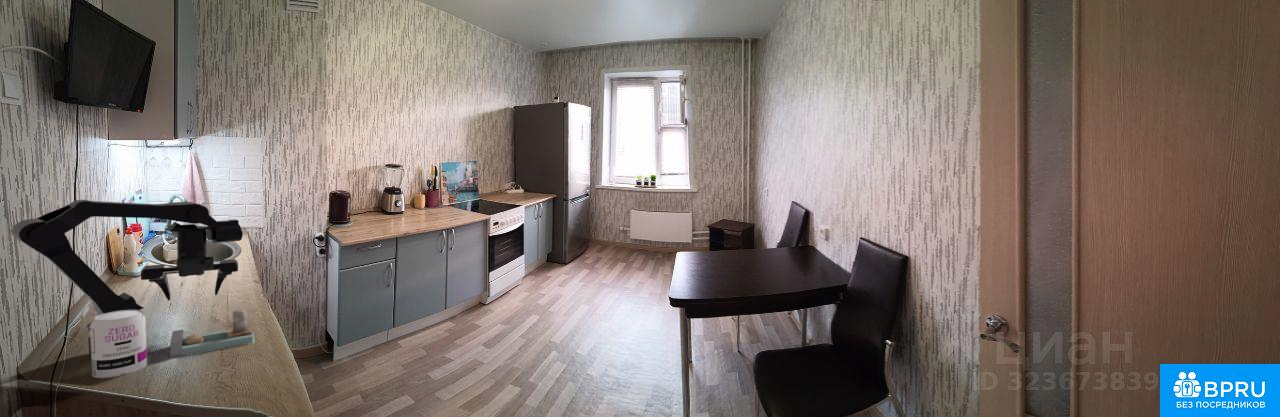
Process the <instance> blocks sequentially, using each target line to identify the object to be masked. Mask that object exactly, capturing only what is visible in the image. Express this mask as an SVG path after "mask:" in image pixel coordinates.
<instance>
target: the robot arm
mask: <svg viewBox="0 0 1280 417" xmlns="http://www.w3.org/2000/svg"><path fill="white" fill-rule="evenodd" d="M94 217H97V218H98V217H99V218H100V217H101V218H129V219H130V218H133V219H135V218H136V219H160V220H168V221H175V222H173V223H171V225H169V226H167V227H166V228H165V231H167V232H170V233H176V245H177V246H176V249H177V251H176V254H177V257H176V258H177V260H176V266H170V267H166V266H165V264H152V265H151V264H150V265H144V266H143V267H142V269H141V271H140V280H141V281H146V280H148V282H149V283H155V284H156V285H157V286H158V287H159V288H160V289H161V290H162V292H163V294H164V296H165V298H166V299H167V301H171V289H170V285H169V280H168V275H173V274H178V276H179V277H182V278H185V277H188V276H189V277H191V276H202V275H204V274H205V272H207V271H217V276H216V281H215V285H214V286H215V287H214V295H215V296H217V295H218V293H219V291H220V288H221V286H222V284H223V282H224V280H225V279H226V277H227V276H230V275H233V273H237V272H239V262H238V261H239V260H237V259H235V258H234V259H232V258H231V259H222V260H219V263H215V262H214V257H215V256H207V255H208V253H207V247H208V246H207V240H208V241H211V242H212V243H213V244H221V243H234V242H240V241H242V240H243V236H244V235H243V233H244V232H243V230H242V228H241V225H240V223H239V220H237V219H234V218H233V219H228V220H216V219H214V218H213V217H212V215H210V211H209V208H208V207H206V206H205V205H204V204H202V203H201V204H200V203H196V202H193V201H177V202H176V201H175V202H166V203H138V202H137V203H135V202H119V201H118V202H117V201H116V202H115V201H96V200H95V201H94V200H88V199H77V200H74V201H72V202H70V203H69V204H66V205H65V206H62V207H60V208H57V209H55V210H52V211H49V212H46V213H45V214H43V215H40V216H39V217H37V218H28V219H23V220H21V221H18V222H17V223H16V224H15V225H14V226H13V228H12V229H11V235H12V236H13V237H14V238H15V239H17V240H19V241H20V242H21V243H23V244H25V245H26V246H28V247H30V248H31V249H32V250H34V251H36V252H37V253H39V254H40V255H42V256H44V257H45V258H47V259H48V260H49V261H50V262H51V263H52V264H53V265H54V266H55V267H56V268H57V269H58V270H59V271H60V272H61V273H62V274H64V275H65V276H66V278H68V279H69V280H70V281H71V282H72V283H73V284H74V285H75V286H76V287H77V288H78V289H79V290H80V291H81V292H82V293H83V294H84V295H85V296H86V297H88V299H90V301H91V302H92V304H93V307H94V309H95V311H96V313H97V314H98V315H101V314H105V313H109V312H114V311H121V310H140V311H141V313H142V314H143V315H144V313H143V311H142V310H144V308H145V307H143V306H142V305H140V304H138V303H137V301H136V300H135V298H134V296H132V295H130V294H128V293H126V292H122V293H121V294H119V295H118V294H117V293H116V292H114V291H113V290H112V288H111V287H110V286H108V284H106V283H105V281H103V280H102V278H100V276H99V275H97V273H95V271H93V269H91V267H90V266H89V265H88V264H87V263H86V262H85V261H84V260H83V259H82V258H81V257H80V256H79V255H78V254H76V252H75V251H74V250H73V248H72V246H71V243H70V241H69V239H68V236H67V235H66V233H68V232H70V231H71V230H73V229H75V228H76V227H77V226H79V225H80V224H82V223H84V222H85V221H86V220H89V219H91V218H94ZM178 222H181V223H185V224H180V223H178ZM186 223H188V224H186ZM196 224H200V225H203V226H197V225H196ZM92 322H93V320H92V321H91V322H89V323H88V324H87V325H86V329H88V331H89V332H90V324H91V323H92ZM87 341H88V357H90V358H91V341H90V336H89V337H88V340H87Z"/></svg>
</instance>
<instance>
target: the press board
mask: <svg viewBox="0 0 1280 417" xmlns="http://www.w3.org/2000/svg"><path fill="white" fill-rule="evenodd" d="M227 330H228V329H226V330H220V331H219V330H218V331H213V332H207V333H201V334H199V335H201V336H202V337H203V342H202V343H200V344H194V345H188V346H185V344H184V346H182V355H181V356H175V357H171V356H170V359H174V358H179V357H184V356H190V355H195V354H196V355H197V354H200V353H206V352H211V351H218V350H223V349H229V348H234V347H240V346H246V345H249V344H255V343H256V340H255V336H254V335H255V334H254V331H253V330H252V335H246V336H240V337H234V338H229V339H227ZM187 337H188V336H184V341H185V339H186V338H187Z"/></svg>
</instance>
